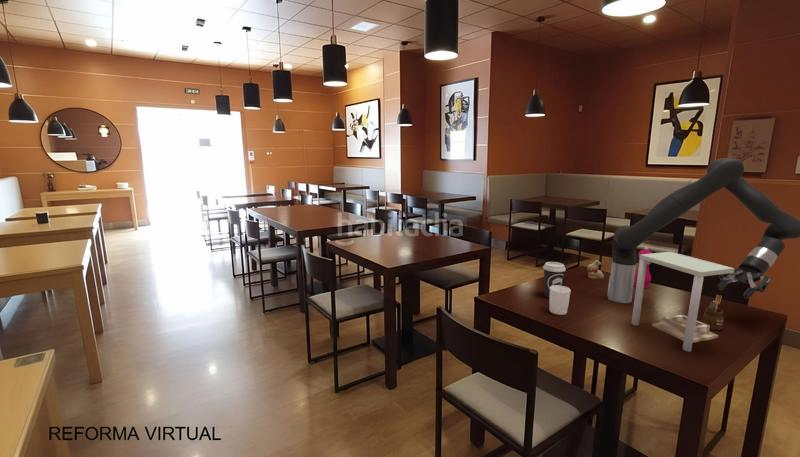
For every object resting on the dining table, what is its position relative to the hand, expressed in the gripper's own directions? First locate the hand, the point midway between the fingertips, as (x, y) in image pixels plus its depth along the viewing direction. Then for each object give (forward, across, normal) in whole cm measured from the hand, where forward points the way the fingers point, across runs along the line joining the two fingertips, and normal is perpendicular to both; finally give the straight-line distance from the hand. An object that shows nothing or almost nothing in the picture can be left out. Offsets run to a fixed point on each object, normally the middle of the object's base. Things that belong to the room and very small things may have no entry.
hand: (731, 293), depth 144 cm
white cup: (+47, -28, -29) cm, 62 cm away
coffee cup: (+41, -44, -22) cm, 64 cm away
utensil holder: (+15, 0, +4) cm, 15 cm away
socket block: (+24, 0, -6) cm, 25 cm away
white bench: (+28, 0, -10) cm, 30 cm away
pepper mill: (+5, -42, +13) cm, 44 cm away
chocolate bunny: (+13, -60, +5) cm, 61 cm away
